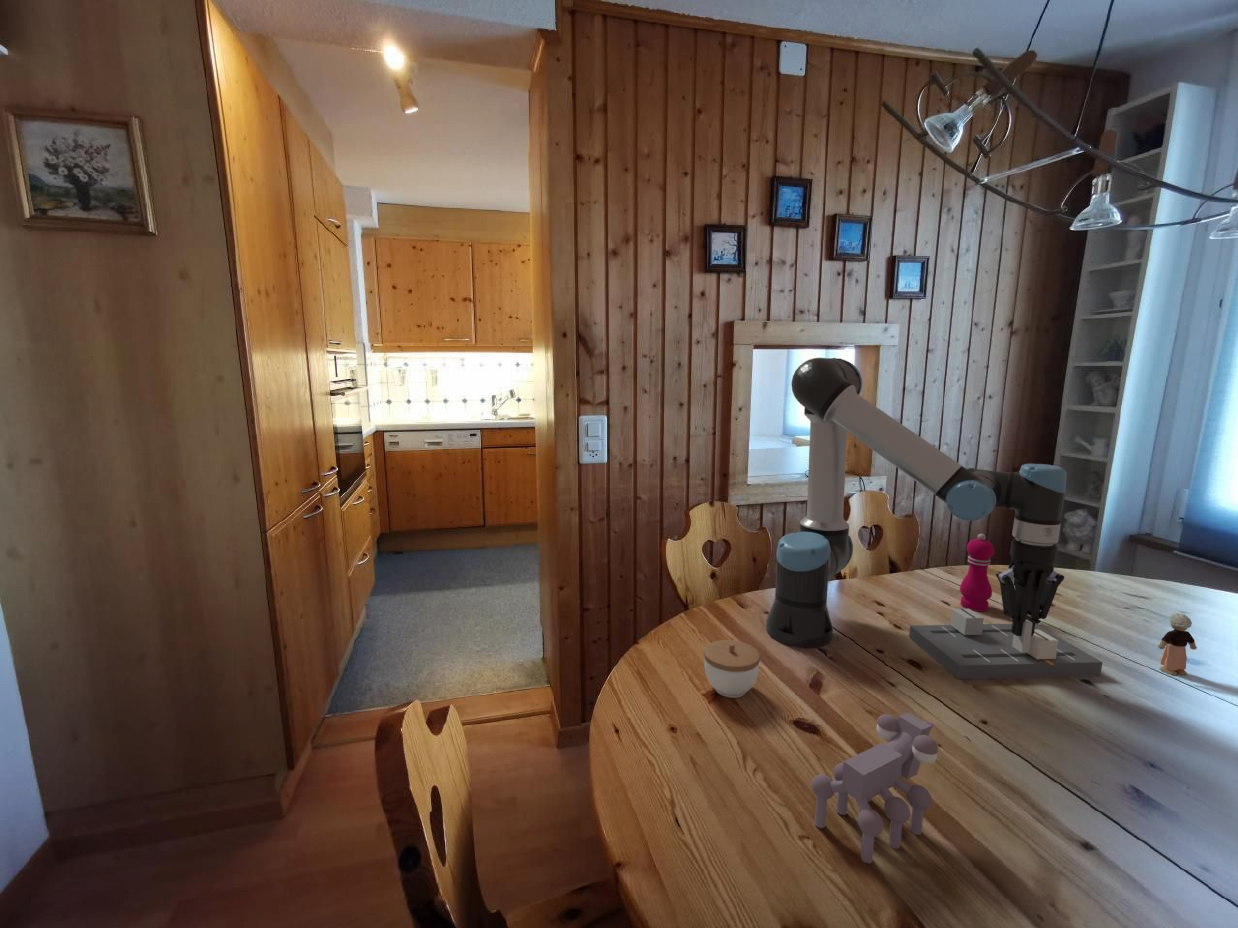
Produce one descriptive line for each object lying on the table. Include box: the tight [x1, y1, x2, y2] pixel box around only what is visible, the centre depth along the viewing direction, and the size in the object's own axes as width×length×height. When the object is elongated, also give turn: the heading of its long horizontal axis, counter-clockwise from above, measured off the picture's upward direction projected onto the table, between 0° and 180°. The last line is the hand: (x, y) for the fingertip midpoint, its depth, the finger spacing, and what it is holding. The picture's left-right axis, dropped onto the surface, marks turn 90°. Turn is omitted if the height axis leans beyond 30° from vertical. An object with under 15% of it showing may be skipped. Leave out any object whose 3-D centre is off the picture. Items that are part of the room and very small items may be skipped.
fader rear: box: [950, 608, 984, 635], centre depth 127 cm, size 4×5×4 cm
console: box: [908, 623, 1103, 680], centre depth 123 cm, size 30×18×3 cm, turn 92°
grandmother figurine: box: [1157, 612, 1198, 676], centre depth 115 cm, size 8×4×13 cm, turn 104°
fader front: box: [1028, 630, 1058, 659], centre depth 117 cm, size 4×5×4 cm
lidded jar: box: [703, 639, 761, 699], centre depth 109 cm, size 11×11×9 cm
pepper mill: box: [959, 533, 995, 612], centre depth 147 cm, size 7×7×20 cm
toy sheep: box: [811, 712, 939, 864], centre depth 77 cm, size 20×11×14 cm, turn 119°
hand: (1020, 649), depth 117 cm, fingers closed
